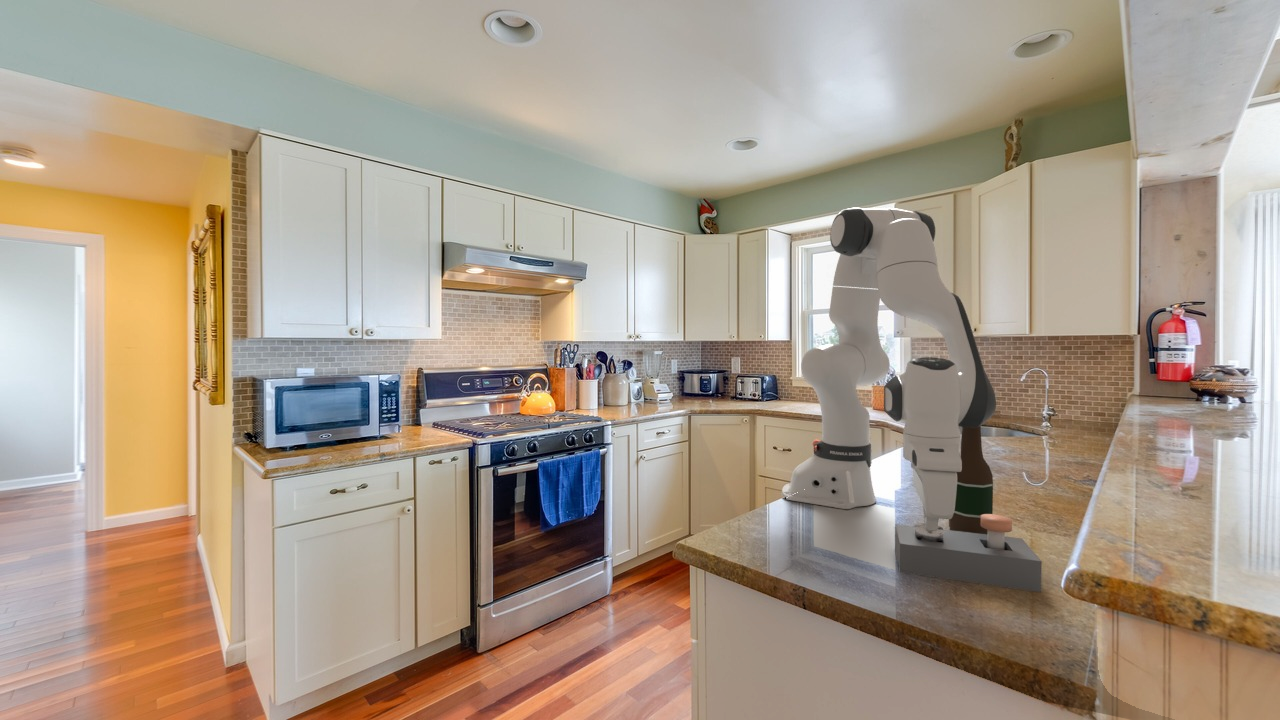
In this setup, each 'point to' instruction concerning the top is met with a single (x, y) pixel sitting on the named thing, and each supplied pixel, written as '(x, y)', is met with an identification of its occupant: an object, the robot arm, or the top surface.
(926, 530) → the grey mushroom plug
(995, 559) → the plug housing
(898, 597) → the top surface
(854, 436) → the robot arm
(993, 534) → the mushroom push button
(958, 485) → the beer bottle
